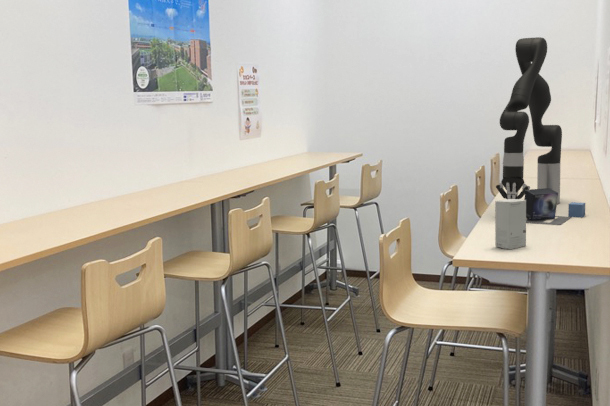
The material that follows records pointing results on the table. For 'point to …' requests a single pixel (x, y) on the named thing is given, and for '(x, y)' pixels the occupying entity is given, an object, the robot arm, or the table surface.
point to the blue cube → (576, 209)
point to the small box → (541, 204)
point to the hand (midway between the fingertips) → (512, 209)
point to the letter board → (550, 220)
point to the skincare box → (510, 223)
